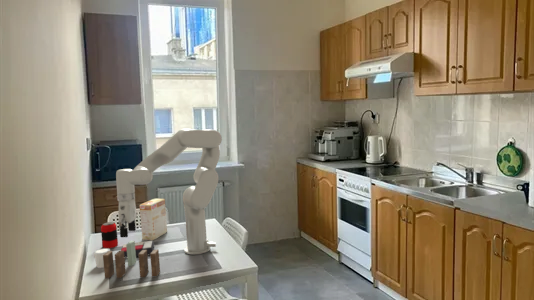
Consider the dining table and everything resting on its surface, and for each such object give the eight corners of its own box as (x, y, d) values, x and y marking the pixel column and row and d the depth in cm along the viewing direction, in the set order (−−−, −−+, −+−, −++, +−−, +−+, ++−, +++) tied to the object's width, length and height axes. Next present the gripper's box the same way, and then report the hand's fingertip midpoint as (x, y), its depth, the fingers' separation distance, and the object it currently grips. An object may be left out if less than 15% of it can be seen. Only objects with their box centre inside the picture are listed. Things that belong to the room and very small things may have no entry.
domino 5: (160, 271, 178) (158, 249, 177) (156, 276, 173) (154, 253, 172) (155, 272, 178) (153, 249, 177) (151, 276, 173) (150, 253, 172)
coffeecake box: (157, 231, 238) (154, 198, 236) (167, 232, 236) (165, 198, 234) (141, 239, 224) (138, 204, 222) (152, 240, 222) (150, 204, 220)
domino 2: (125, 272, 179) (123, 250, 178) (121, 277, 174) (119, 254, 173) (121, 273, 179) (119, 250, 178) (116, 277, 174) (114, 254, 173)
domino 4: (148, 272, 178) (146, 249, 177) (144, 277, 173) (143, 253, 172) (144, 272, 178) (142, 249, 177) (140, 277, 173) (138, 254, 172)
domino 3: (136, 261, 192) (134, 240, 190) (132, 265, 187) (130, 244, 186) (132, 261, 192) (130, 240, 191) (128, 265, 187) (126, 244, 186)
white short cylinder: (94, 269, 184) (92, 254, 184) (96, 264, 191) (94, 249, 190) (110, 267, 186) (109, 252, 186) (111, 261, 193) (110, 247, 192)
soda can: (104, 249, 210) (102, 226, 209) (100, 246, 217) (98, 223, 215) (119, 246, 215) (118, 223, 214) (115, 242, 221) (113, 220, 220)
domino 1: (114, 273, 179) (112, 250, 178) (109, 278, 174) (107, 255, 173) (109, 273, 179) (107, 251, 178) (104, 278, 174) (102, 255, 173)
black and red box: (122, 243, 208) (153, 239, 211) (123, 252, 208) (154, 247, 211) (119, 251, 197) (151, 246, 200) (120, 259, 198) (152, 254, 200)
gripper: (127, 200, 177) (129, 239, 179) (140, 192, 194) (142, 228, 196) (110, 200, 177) (112, 239, 179) (125, 192, 194) (127, 228, 196)
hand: (128, 233), depth 187 cm, fingers open, 9 cm apart
